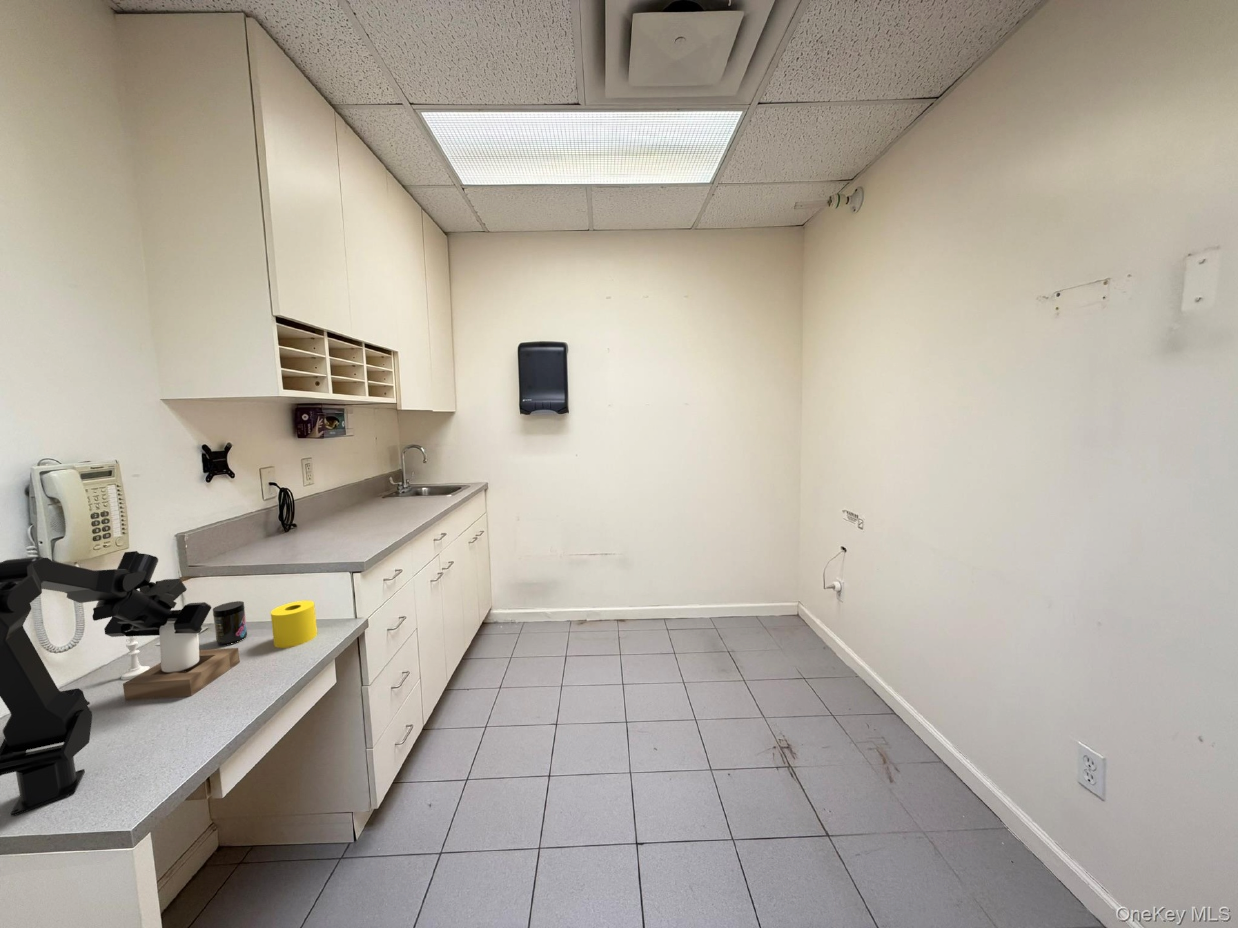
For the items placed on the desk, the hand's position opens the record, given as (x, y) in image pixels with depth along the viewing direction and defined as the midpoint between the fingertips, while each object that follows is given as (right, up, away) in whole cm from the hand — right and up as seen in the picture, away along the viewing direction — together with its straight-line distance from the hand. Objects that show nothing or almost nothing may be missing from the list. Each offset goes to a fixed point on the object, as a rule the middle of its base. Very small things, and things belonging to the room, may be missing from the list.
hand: (185, 631), depth 105 cm
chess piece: (-16, -12, +3) cm, 20 cm away
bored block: (0, -12, 0) cm, 12 cm away
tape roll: (+12, -10, +19) cm, 25 cm away
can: (0, -8, -1) cm, 8 cm away
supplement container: (-6, -10, +19) cm, 23 cm away
